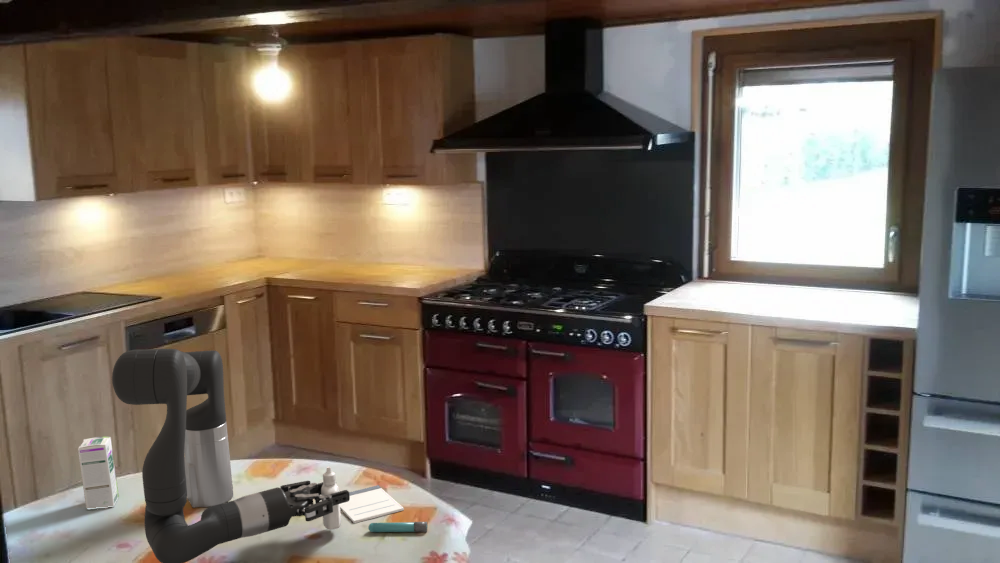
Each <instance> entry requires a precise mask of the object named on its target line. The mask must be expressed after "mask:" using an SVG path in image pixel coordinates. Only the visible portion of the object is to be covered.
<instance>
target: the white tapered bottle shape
mask: <svg viewBox="0 0 1000 563" xmlns="http://www.w3.org/2000/svg"><path fill="white" fill-rule="evenodd" d="M322 480H323V485H322V487H321V495H330V494H333V493H336V492H340V488H339V486H338V484H337V481H336V480H337V479H336V472H334V471H332V467H331V466H327V467H326V471H325V472H324V473H322ZM321 495H320V496H321ZM321 501H324V500H321ZM324 510H326V509H324ZM322 524H323V526H324V527H325V528H326V530H330V531H331V530H335V529H336V530H338V529H339V528H340V527H341V526H342V515H341V509H340V504H338V505H334V506H333V512H332V513H330V514H327V515H325V516H322Z"/></svg>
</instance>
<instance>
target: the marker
mask: <svg viewBox="0 0 1000 563" xmlns="http://www.w3.org/2000/svg"><path fill="white" fill-rule="evenodd" d="M367 529H368V531H370V532H371V533H418V532H419V533H420V532H423V533H427V532H428V522H427V521H412V522H409V521H408V522H404V521H403V522H371V523H369V524H368V528H367Z"/></svg>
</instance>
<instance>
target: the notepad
mask: <svg viewBox="0 0 1000 563" xmlns="http://www.w3.org/2000/svg"><path fill="white" fill-rule="evenodd" d="M349 496H350V500H349V501H348V502H344V503H341V504H340V511H342V512H343V513H344V515H345V516H347V517H348V519H349V520H350V521H351V522H352V523H353V524H357V523H360V522H364V521H369V520H371V519H376V518H379V517H384V516H387V515H392V514H395V513H399V512H401V511H404V510H405V508H404V507H403V505H401V504H400V503H399V502H397V501H396V499H394V498H393V497H392V496H391V495H390V494H389V493H387V491H385V490H384V489H383V488H382V487H381V486H380V485H378V484H377V485H374V486H369V487H366V488H360V489H358V490H353V491H349Z"/></svg>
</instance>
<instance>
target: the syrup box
mask: <svg viewBox="0 0 1000 563" xmlns="http://www.w3.org/2000/svg"><path fill="white" fill-rule="evenodd" d="M112 445H113V444H112V437H111V436H95V437H91V438H83V440H82V442H81V443H80V445H79V446H78V448H77V451H78V452H77V453H78V460H79V466H80V468H79V469H80V474H81V480H82V487H83V495H84V502H85V509H86V508H96V507H108V506H114V507H115V505H116V503H117V502H116V501H118V499H119V497H120V494H119V489H118V488H119V487H118V482H117V473H116V466H115V459H114V452H113V451H114V450H113V446H112Z"/></svg>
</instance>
